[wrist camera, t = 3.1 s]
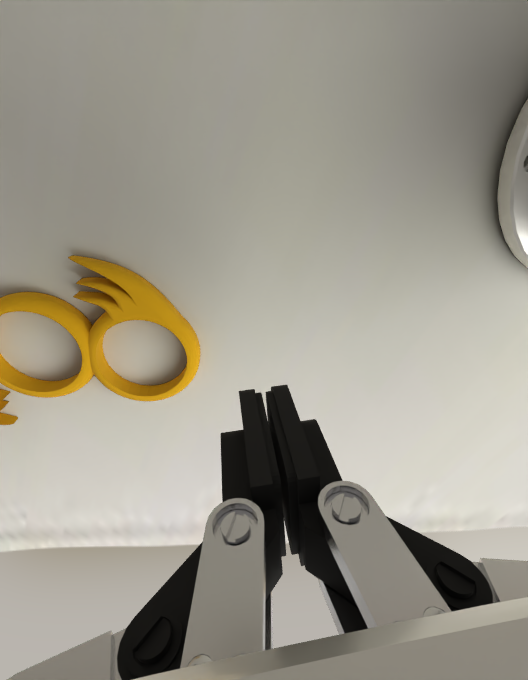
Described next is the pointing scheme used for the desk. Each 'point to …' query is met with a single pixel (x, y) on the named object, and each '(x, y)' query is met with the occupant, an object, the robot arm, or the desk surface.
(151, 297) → the yellow triple ring ornament
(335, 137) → the desk surface
